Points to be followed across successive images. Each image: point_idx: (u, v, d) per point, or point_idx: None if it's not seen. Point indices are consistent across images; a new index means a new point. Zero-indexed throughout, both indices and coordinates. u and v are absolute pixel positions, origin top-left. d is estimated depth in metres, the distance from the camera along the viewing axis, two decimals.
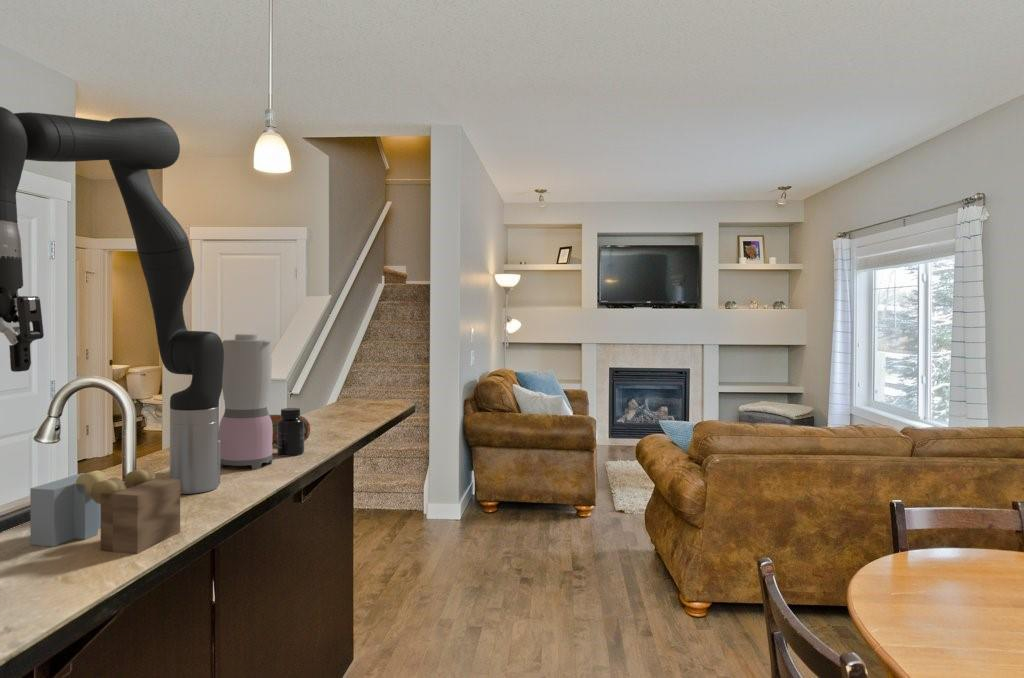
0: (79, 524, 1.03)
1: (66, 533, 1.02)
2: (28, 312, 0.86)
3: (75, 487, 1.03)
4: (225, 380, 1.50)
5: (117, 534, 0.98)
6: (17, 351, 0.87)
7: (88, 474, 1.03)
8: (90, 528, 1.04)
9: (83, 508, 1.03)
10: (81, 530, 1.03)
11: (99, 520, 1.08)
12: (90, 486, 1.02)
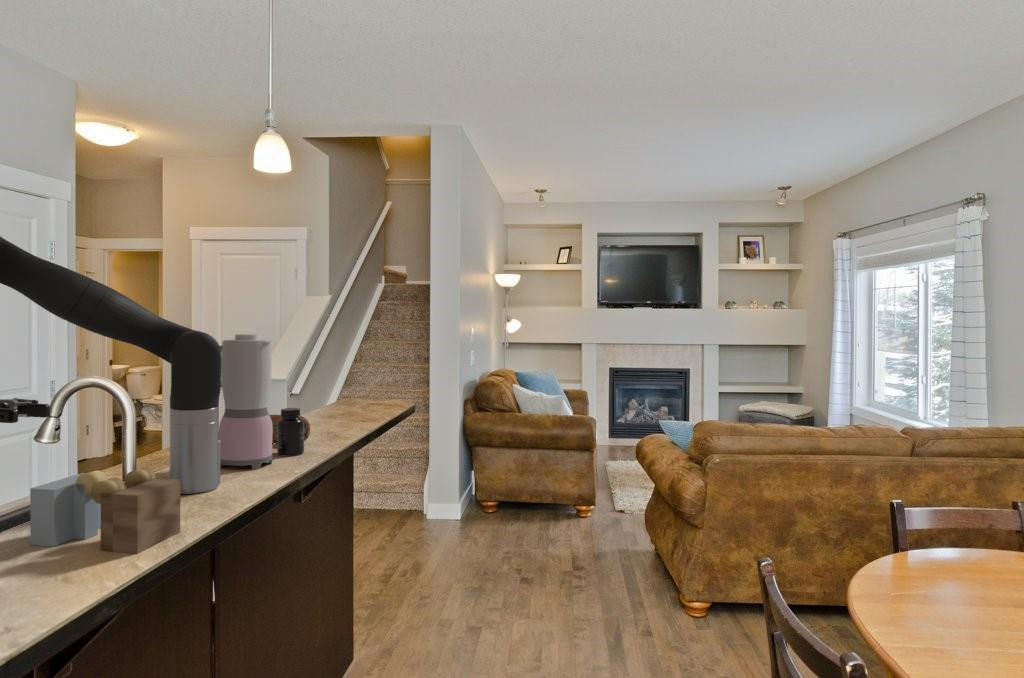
0: (79, 524, 1.03)
1: (66, 533, 1.02)
2: None
3: (75, 487, 1.03)
4: (225, 380, 1.50)
5: (117, 534, 0.98)
6: None
7: (88, 474, 1.03)
8: (90, 528, 1.04)
9: (83, 508, 1.03)
10: (81, 530, 1.03)
11: (99, 520, 1.08)
12: (90, 486, 1.02)
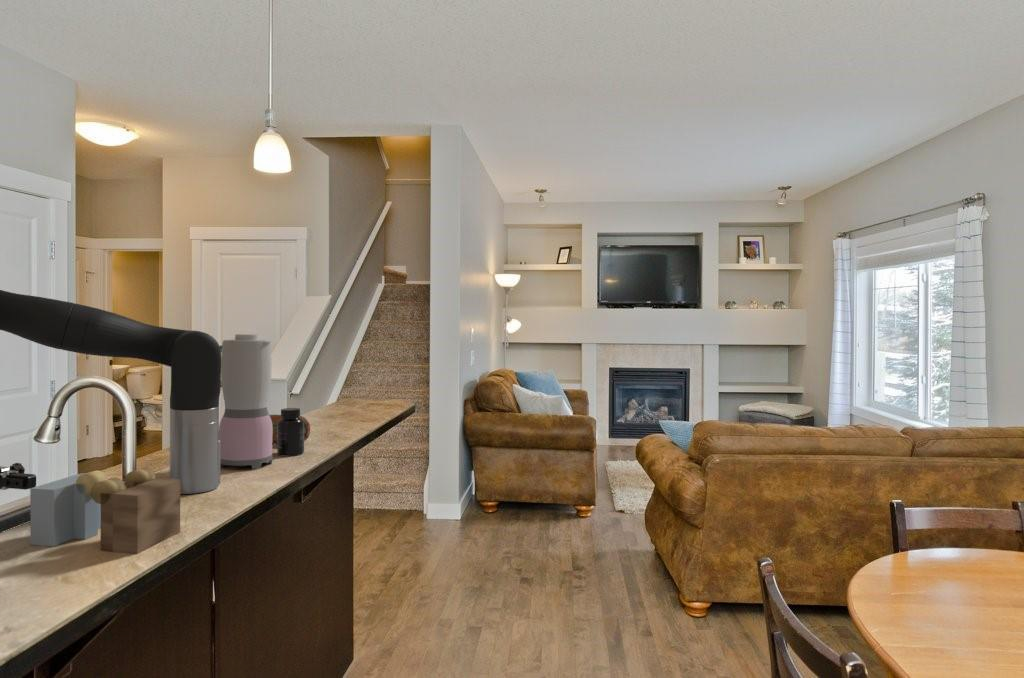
0: (79, 524, 1.03)
1: (66, 533, 1.02)
2: None
3: (75, 487, 1.03)
4: (225, 380, 1.50)
5: (117, 534, 0.98)
6: None
7: (88, 474, 1.03)
8: (90, 528, 1.04)
9: (83, 508, 1.03)
10: (81, 530, 1.03)
11: (99, 520, 1.08)
12: (90, 486, 1.02)
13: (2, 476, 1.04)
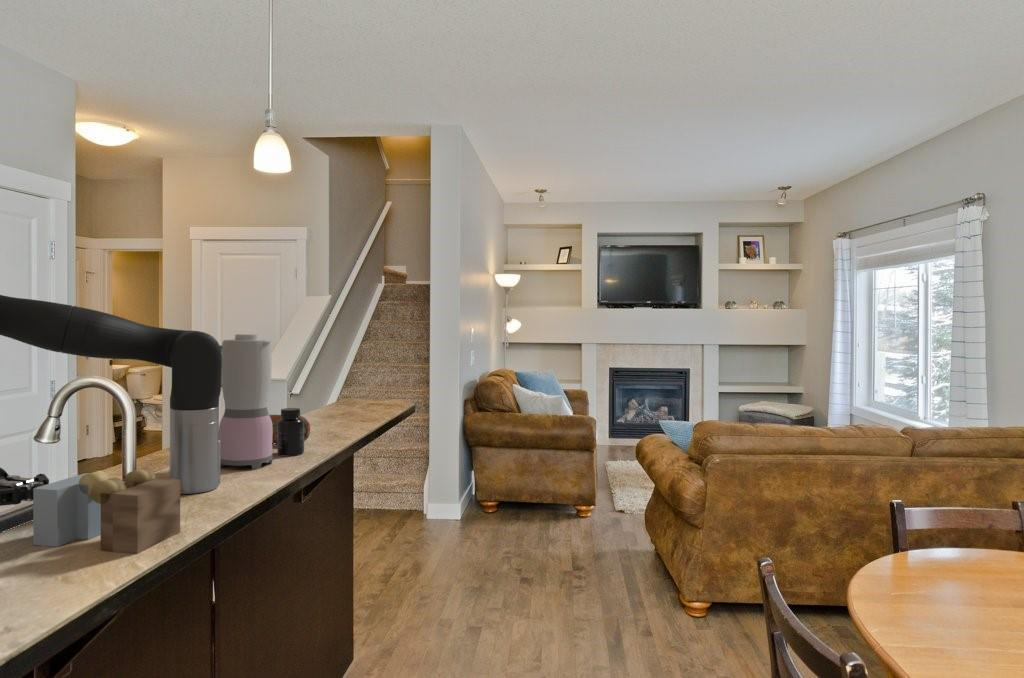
0: (82, 524, 1.03)
1: (69, 533, 1.02)
2: None
3: (78, 487, 1.03)
4: (225, 380, 1.50)
5: (117, 534, 0.98)
6: None
7: (91, 474, 1.03)
8: (93, 528, 1.04)
9: (86, 509, 1.03)
10: (84, 530, 1.03)
11: None
12: None
13: (27, 488, 1.03)
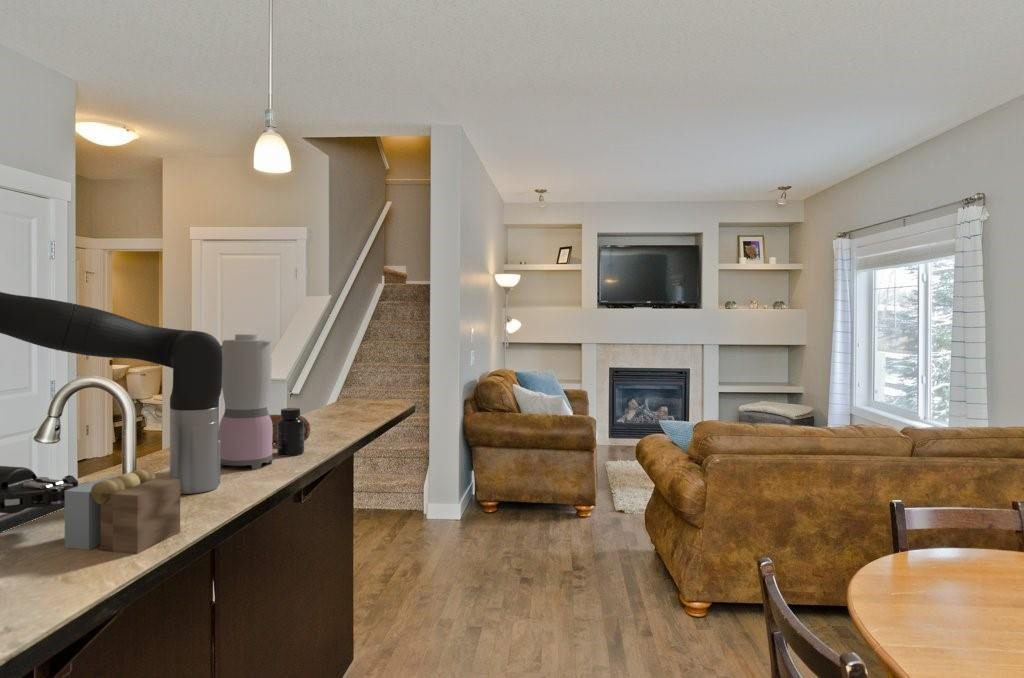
0: None
1: (100, 535, 1.01)
2: (21, 505, 1.00)
3: None
4: (225, 380, 1.50)
5: (117, 534, 0.98)
6: None
7: (122, 476, 1.02)
8: None
9: None
10: None
11: None
12: None
13: (57, 490, 1.03)
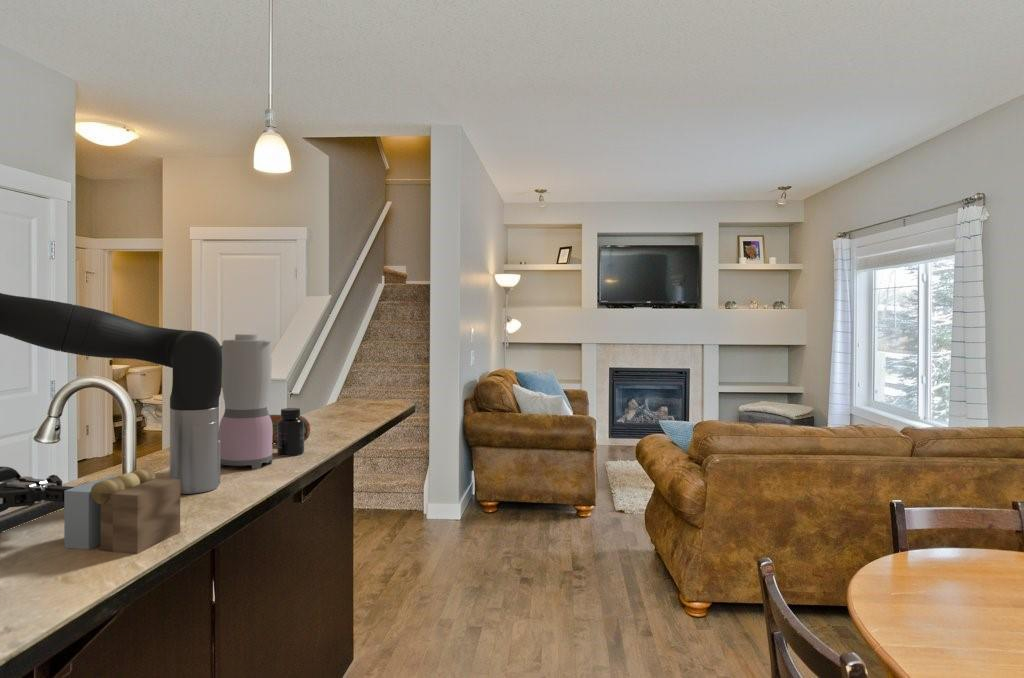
0: None
1: (99, 535, 1.01)
2: (5, 505, 1.00)
3: None
4: (225, 380, 1.50)
5: (117, 534, 0.98)
6: None
7: (122, 476, 1.02)
8: None
9: None
10: None
11: None
12: None
13: (41, 489, 1.03)
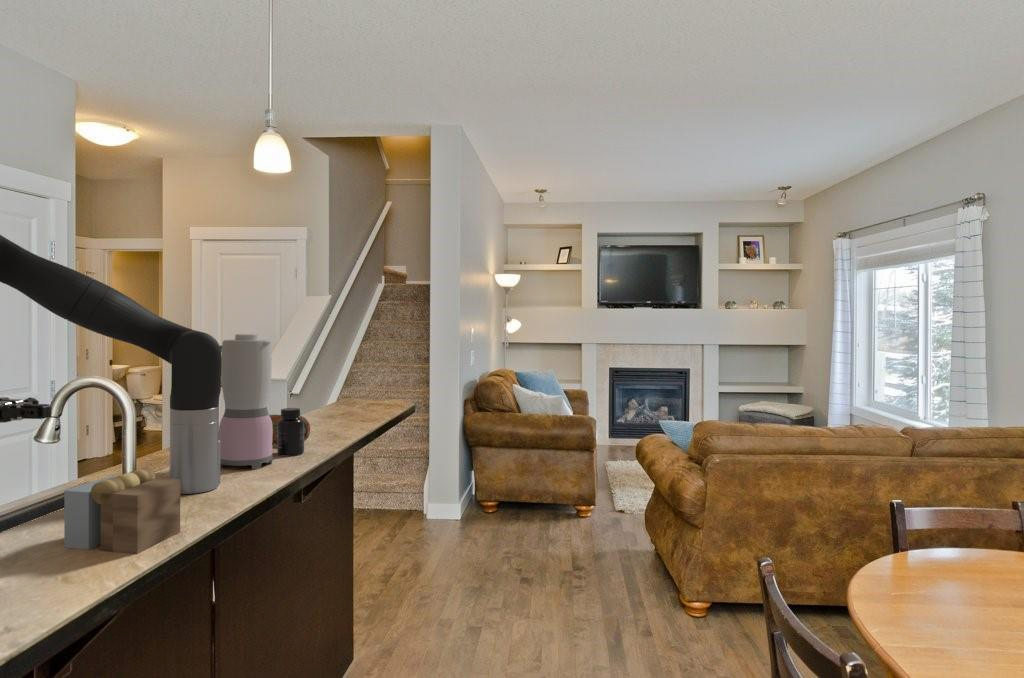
0: None
1: (99, 535, 1.01)
2: None
3: None
4: (225, 380, 1.50)
5: (117, 534, 0.98)
6: None
7: (122, 476, 1.02)
8: None
9: None
10: None
11: None
12: None
13: (16, 406, 1.03)
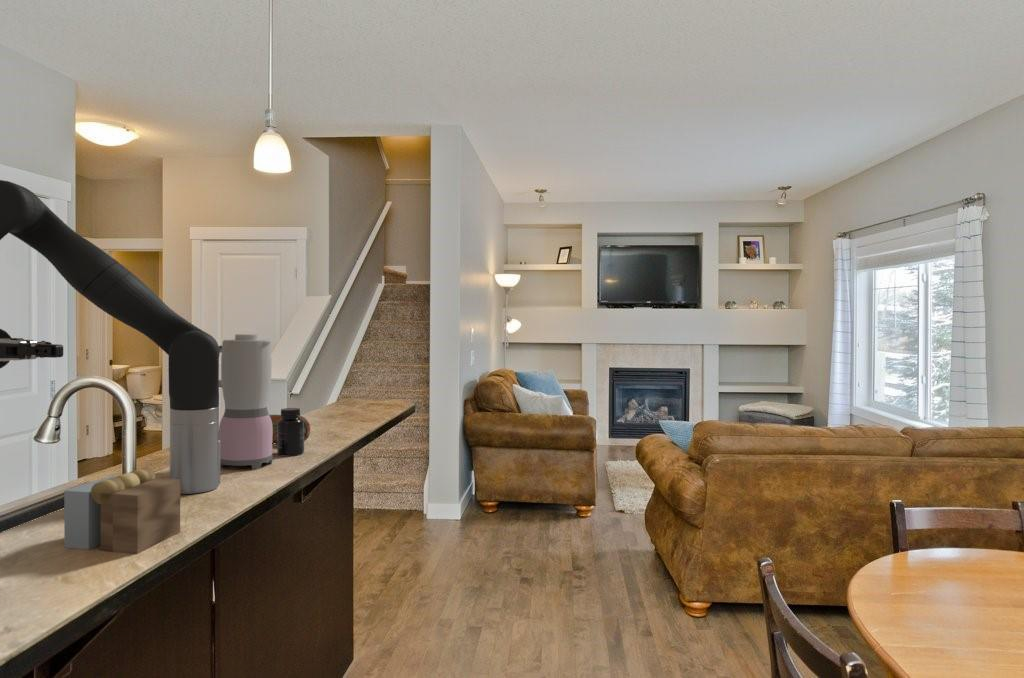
0: None
1: (99, 535, 1.01)
2: None
3: None
4: (225, 380, 1.50)
5: (117, 534, 0.98)
6: (40, 354, 1.10)
7: (122, 476, 1.02)
8: None
9: None
10: None
11: None
12: None
13: (31, 345, 1.09)
